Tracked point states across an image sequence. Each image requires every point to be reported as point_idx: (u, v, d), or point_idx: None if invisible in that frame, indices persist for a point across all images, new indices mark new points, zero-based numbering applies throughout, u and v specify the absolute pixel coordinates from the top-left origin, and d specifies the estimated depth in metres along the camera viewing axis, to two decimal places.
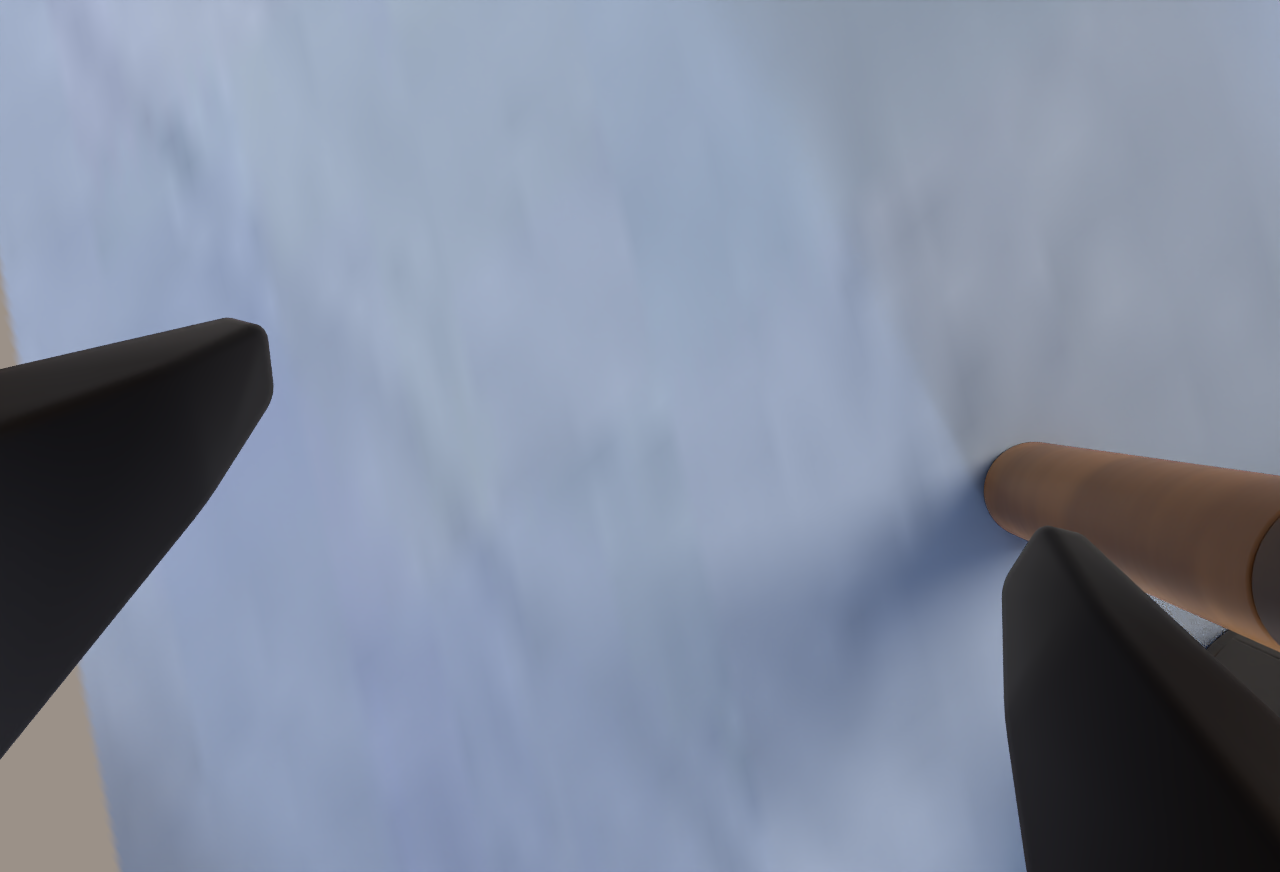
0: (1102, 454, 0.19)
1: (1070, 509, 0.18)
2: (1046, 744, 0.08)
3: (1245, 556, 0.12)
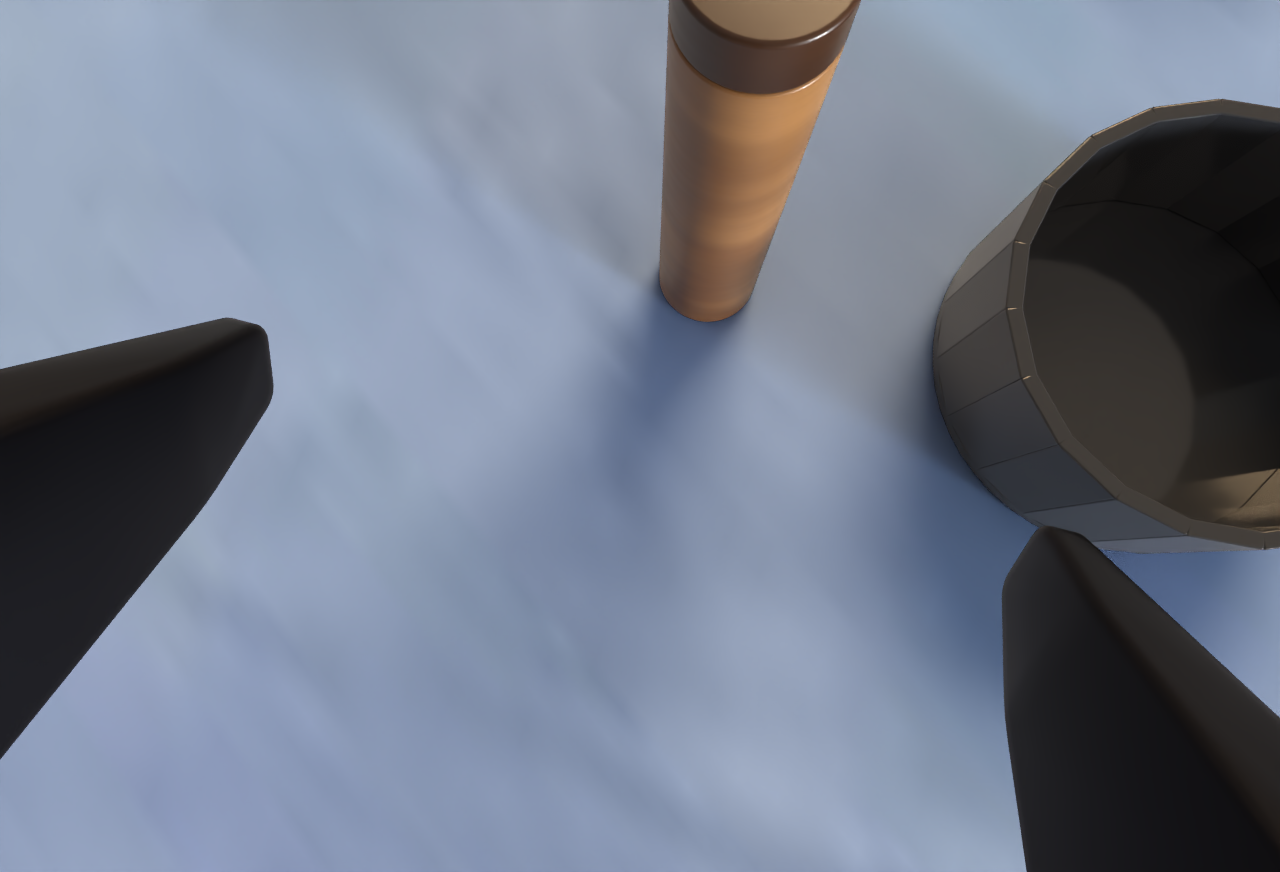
0: None
1: (666, 209, 0.18)
2: (1046, 744, 0.08)
3: (672, 41, 0.12)
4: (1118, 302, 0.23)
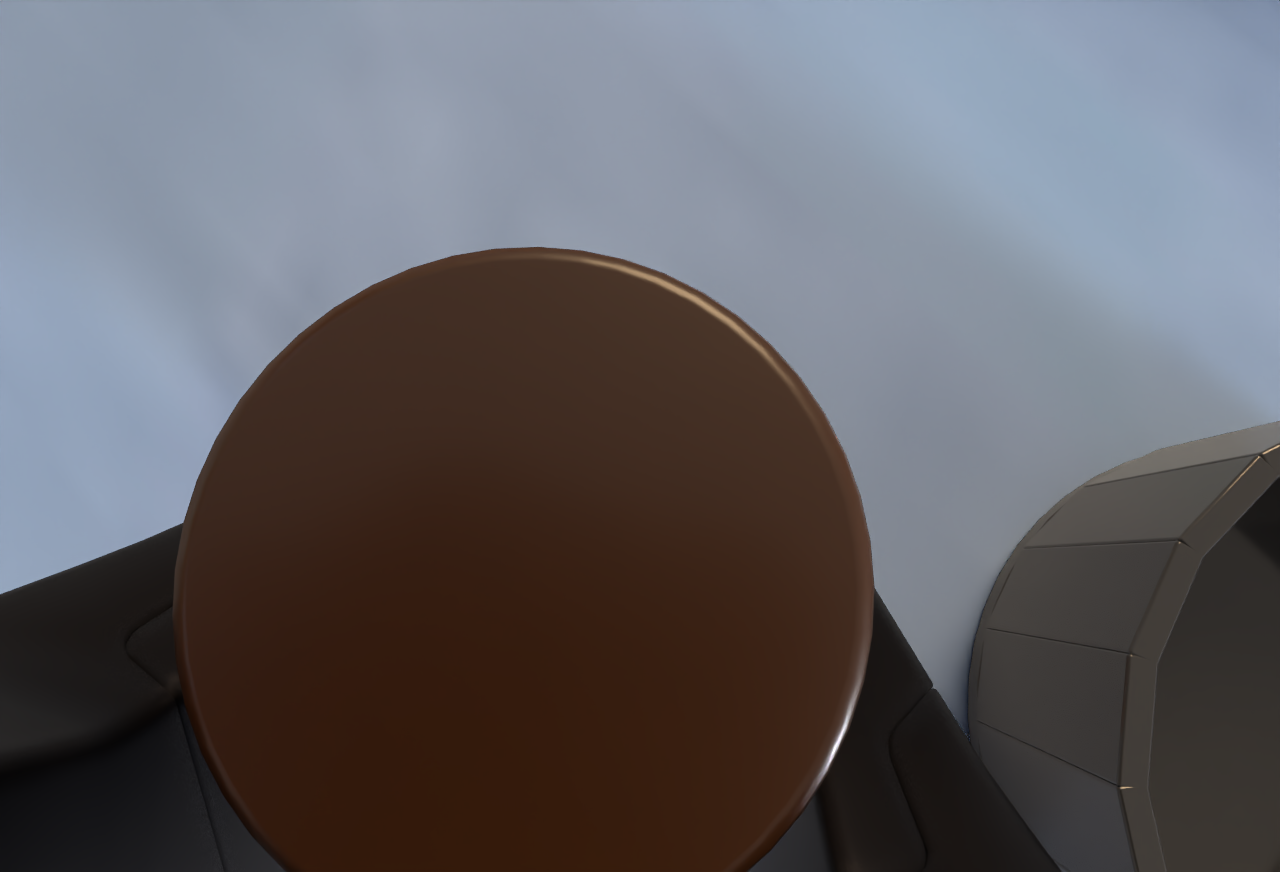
0: None
1: None
2: None
3: None
4: (1256, 626, 0.15)
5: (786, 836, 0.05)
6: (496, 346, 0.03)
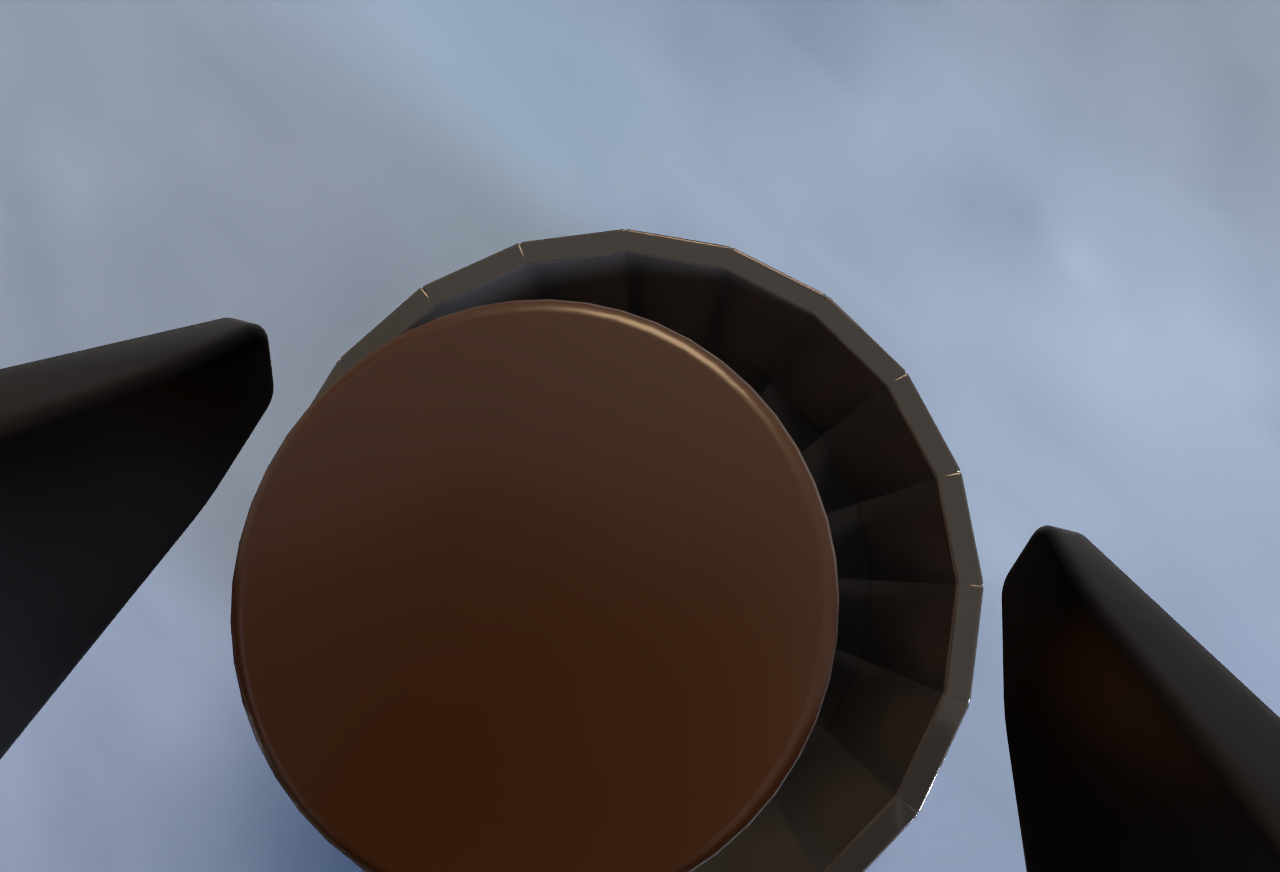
0: None
1: None
2: (1046, 744, 0.08)
3: None
4: None
5: None
6: (511, 387, 0.04)
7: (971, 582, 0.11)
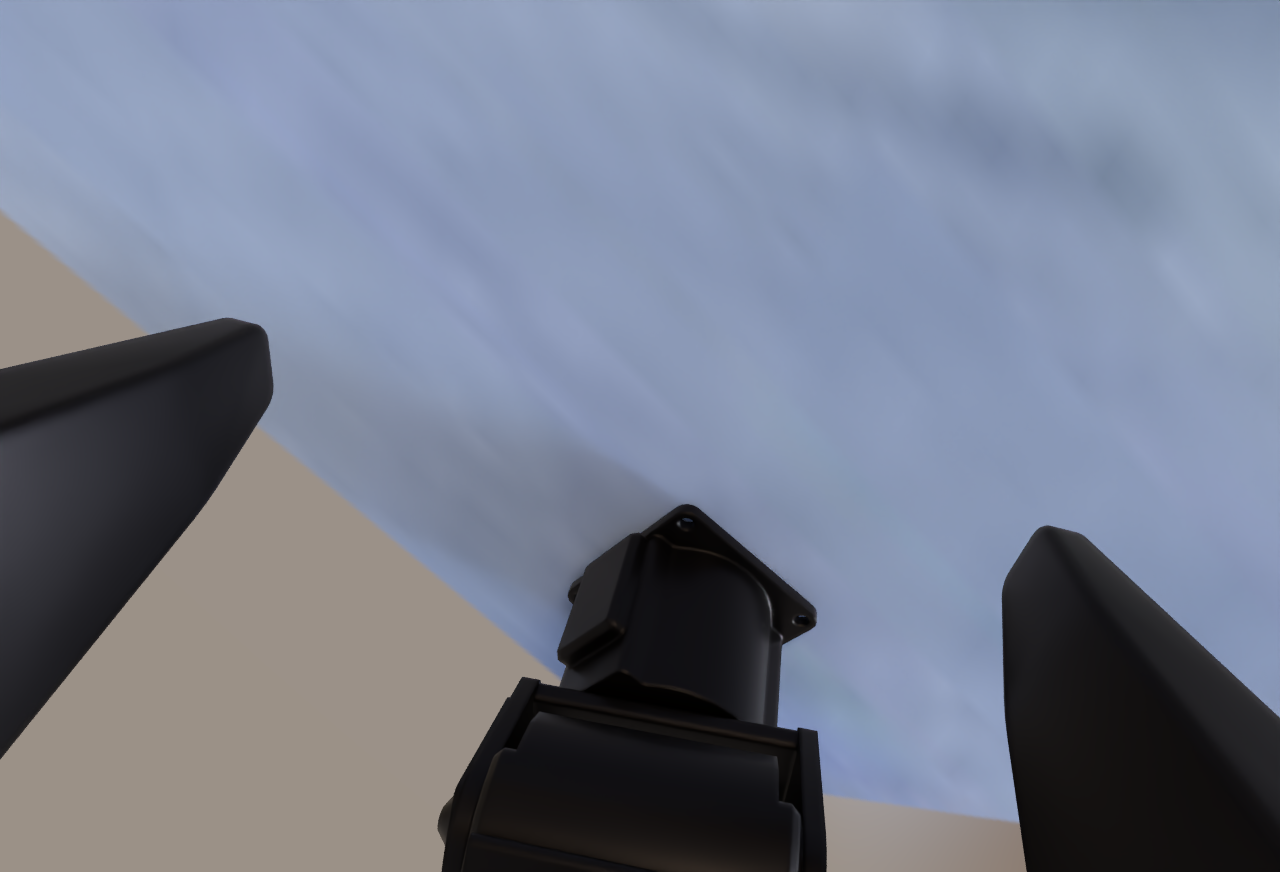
0: None
1: None
2: (1046, 744, 0.08)
3: None
4: None
5: None
6: None
7: None
